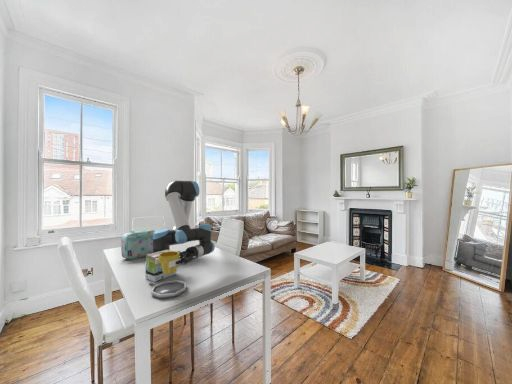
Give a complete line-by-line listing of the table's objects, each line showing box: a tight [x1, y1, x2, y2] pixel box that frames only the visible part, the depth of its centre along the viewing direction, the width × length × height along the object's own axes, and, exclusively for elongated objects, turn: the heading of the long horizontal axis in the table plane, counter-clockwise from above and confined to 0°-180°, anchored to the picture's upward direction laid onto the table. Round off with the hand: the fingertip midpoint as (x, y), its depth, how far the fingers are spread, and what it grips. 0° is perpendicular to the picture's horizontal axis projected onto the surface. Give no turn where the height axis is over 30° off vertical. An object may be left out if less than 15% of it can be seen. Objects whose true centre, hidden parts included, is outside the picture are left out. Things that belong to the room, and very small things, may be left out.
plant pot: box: [159, 250, 180, 274], centre depth 116 cm, size 10×10×10 cm
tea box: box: [144, 249, 177, 283], centre depth 136 cm, size 15×10×15 cm
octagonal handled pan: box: [148, 279, 187, 300], centre depth 118 cm, size 25×17×2 cm
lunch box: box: [120, 229, 156, 260], centre depth 176 cm, size 27×10×21 cm, turn 148°
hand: (162, 263), depth 112 cm, fingers closed on plant pot, 10 cm apart
